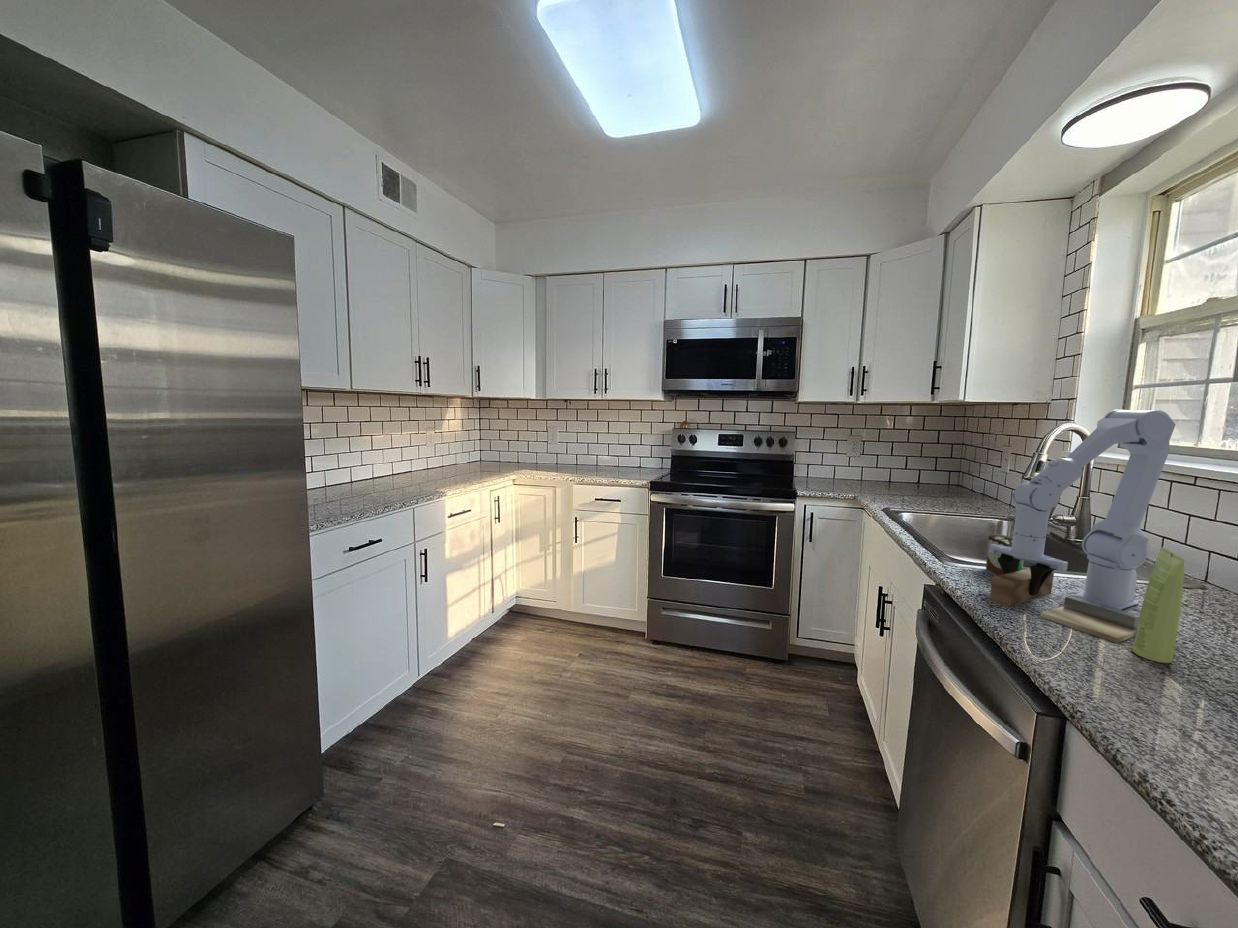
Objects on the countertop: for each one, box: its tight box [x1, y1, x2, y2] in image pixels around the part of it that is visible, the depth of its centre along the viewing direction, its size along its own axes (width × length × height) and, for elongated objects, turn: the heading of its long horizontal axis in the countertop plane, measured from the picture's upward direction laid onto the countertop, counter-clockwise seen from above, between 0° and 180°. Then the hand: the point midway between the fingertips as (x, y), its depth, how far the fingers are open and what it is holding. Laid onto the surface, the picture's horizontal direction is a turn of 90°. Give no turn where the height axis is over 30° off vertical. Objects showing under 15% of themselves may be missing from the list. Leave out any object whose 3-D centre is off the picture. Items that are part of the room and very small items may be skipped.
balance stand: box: [1040, 594, 1140, 644], centre depth 101 cm, size 18×12×4 cm, turn 115°
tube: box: [1131, 546, 1185, 664], centre depth 85 cm, size 6×5×20 cm
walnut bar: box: [989, 567, 1055, 607], centre depth 113 cm, size 18×4×6 cm, turn 116°
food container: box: [985, 533, 1025, 577], centre depth 126 cm, size 12×6×10 cm, turn 168°
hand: (1021, 590), depth 113 cm, fingers closed on walnut bar, 4 cm apart
